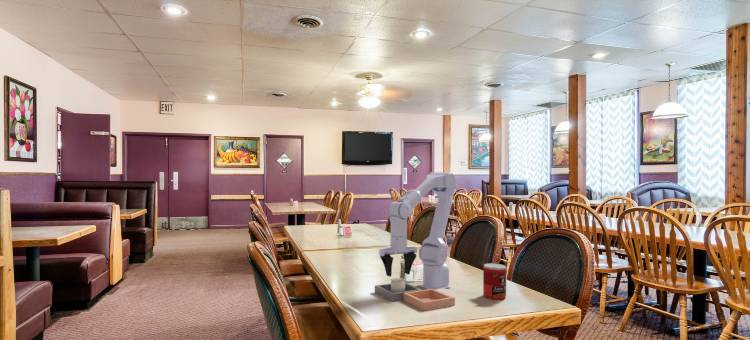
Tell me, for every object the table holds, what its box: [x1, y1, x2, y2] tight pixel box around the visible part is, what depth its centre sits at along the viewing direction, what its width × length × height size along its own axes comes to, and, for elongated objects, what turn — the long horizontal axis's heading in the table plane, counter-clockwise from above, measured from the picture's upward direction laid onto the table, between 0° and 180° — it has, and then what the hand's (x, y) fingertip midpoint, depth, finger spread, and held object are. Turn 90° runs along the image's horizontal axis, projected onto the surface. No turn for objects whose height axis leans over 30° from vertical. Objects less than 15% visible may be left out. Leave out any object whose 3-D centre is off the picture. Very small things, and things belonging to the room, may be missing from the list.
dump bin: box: [402, 288, 456, 312], centre depth 139 cm, size 12×12×3 cm
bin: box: [374, 282, 423, 303], centre depth 148 cm, size 12×12×3 cm
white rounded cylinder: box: [390, 278, 406, 293], centre depth 148 cm, size 5×5×5 cm
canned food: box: [482, 262, 507, 301], centre depth 149 cm, size 8×8×11 cm
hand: (398, 274), depth 148 cm, fingers open, 7 cm apart
